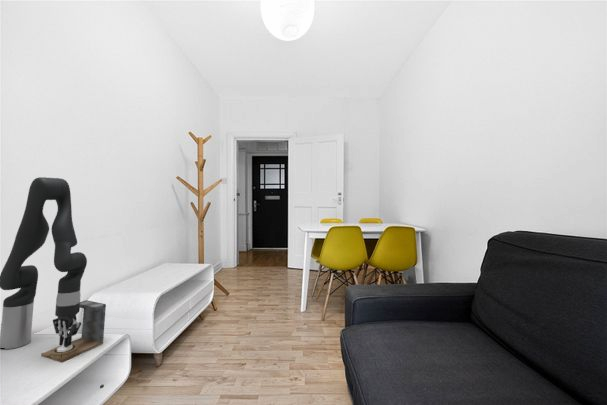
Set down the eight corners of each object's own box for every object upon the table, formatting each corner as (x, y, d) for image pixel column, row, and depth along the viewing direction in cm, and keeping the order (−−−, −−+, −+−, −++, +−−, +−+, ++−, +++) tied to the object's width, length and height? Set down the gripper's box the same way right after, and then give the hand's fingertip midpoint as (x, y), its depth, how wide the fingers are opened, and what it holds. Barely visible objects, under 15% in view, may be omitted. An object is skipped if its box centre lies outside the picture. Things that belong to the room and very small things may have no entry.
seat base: (40, 356, 109) (44, 312, 109) (83, 338, 124) (86, 300, 125) (61, 362, 105) (64, 317, 106) (103, 343, 121) (105, 304, 121)
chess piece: (63, 352, 108) (65, 327, 108) (53, 351, 109) (55, 325, 109) (75, 347, 113) (77, 322, 113) (66, 345, 114) (68, 321, 114)
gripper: (45, 302, 110) (42, 346, 109) (69, 307, 106) (66, 353, 105) (66, 297, 117) (63, 338, 116) (90, 301, 113) (87, 344, 112)
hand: (65, 344), depth 111 cm, fingers closed on chess piece
